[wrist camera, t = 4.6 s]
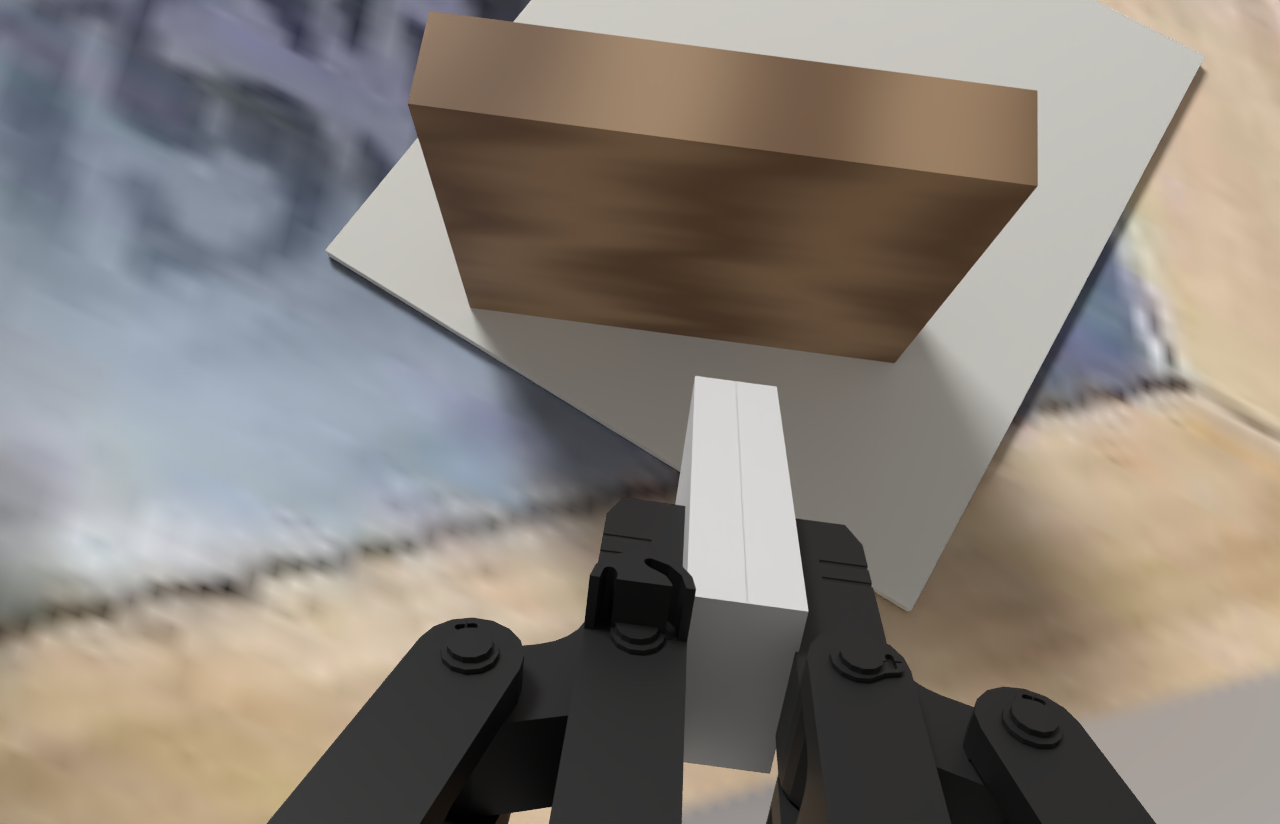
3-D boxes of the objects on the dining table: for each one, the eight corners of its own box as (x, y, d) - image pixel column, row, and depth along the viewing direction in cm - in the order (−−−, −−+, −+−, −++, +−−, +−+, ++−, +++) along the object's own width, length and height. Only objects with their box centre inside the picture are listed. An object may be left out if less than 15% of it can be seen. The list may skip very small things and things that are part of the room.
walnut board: (469, 307, 32) (407, 103, 22) (483, 239, 33) (429, 11, 22) (894, 363, 32) (1037, 185, 22) (897, 294, 33) (1037, 90, 22)
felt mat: (328, 255, 33) (325, 250, 33) (696, -193, 40) (697, -202, 39) (907, 612, 30) (911, 610, 30) (1198, 62, 37) (1205, 55, 36)
